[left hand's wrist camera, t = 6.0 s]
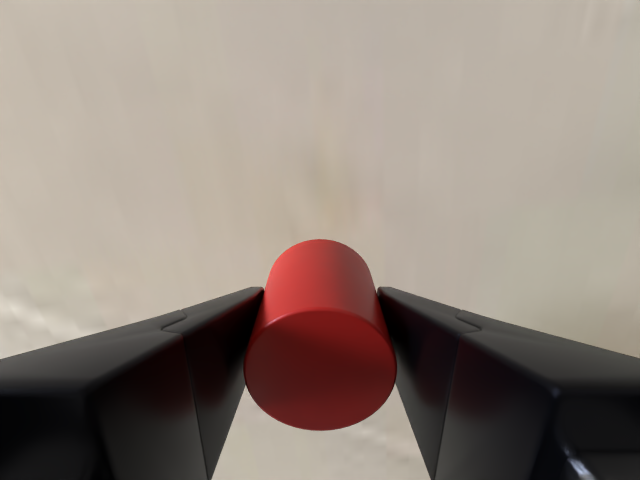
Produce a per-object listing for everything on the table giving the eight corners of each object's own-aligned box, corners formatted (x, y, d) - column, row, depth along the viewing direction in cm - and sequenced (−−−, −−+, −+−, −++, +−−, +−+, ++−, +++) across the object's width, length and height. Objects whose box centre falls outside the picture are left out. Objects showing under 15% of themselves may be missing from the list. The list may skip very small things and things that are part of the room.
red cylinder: (304, 345, 13) (297, 451, 9) (247, 271, 12) (210, 354, 8) (390, 301, 12) (424, 394, 8) (338, 218, 11) (349, 279, 7)
